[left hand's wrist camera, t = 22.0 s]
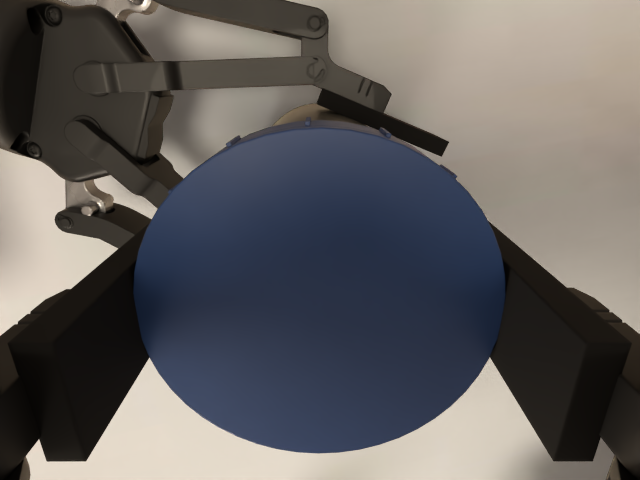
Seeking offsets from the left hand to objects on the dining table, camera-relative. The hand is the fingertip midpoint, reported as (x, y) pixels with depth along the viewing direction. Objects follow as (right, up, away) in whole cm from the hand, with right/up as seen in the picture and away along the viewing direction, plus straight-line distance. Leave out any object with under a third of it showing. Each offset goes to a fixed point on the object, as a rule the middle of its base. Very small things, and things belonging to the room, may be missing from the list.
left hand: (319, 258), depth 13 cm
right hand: (+4, +2, +9) cm, 10 cm away
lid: (0, -1, -3) cm, 3 cm away
